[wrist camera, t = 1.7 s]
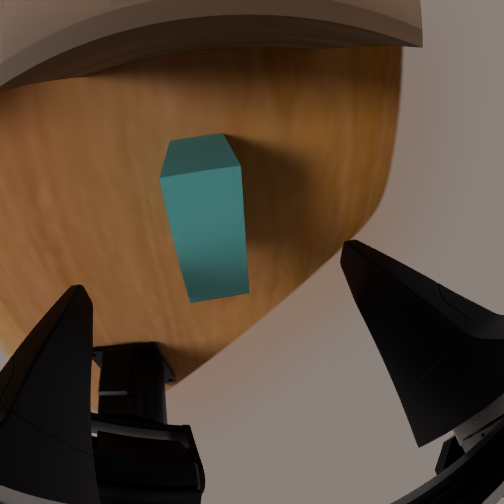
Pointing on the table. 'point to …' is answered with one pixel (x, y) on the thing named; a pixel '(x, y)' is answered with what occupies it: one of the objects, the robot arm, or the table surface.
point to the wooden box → (183, 30)
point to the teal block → (206, 216)
